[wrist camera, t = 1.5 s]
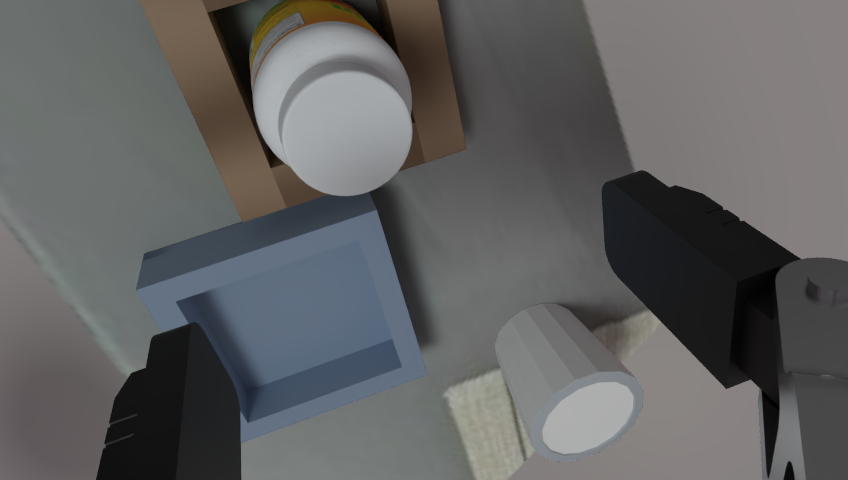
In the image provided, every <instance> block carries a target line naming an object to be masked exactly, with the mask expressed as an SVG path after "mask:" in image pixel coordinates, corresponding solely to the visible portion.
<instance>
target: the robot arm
mask: <svg viewBox="0 0 848 480" xmlns="http://www.w3.org/2000/svg"><path fill="white" fill-rule="evenodd" d="M602 206H603V224H604V241H605V251H606V255H607V258H608V261H609V263H610V266H611V268H612V269H613V271H614V273H615V274H616V275H617V276H618V278H619V279H620V280H621V281H622V282H623V283H624V284H625V285H626V286H627V287H628V288H629V289H630V290H631V291H632V292H633V293H634V294H635V295H636V296H637V297H638V298H639V299H640V300H641V301H642V302H643V303H644V304H645V305H646V307H647V308H648V309H649V310H650V311H651V312H652V313H653V314H654V315H655V316H656V317H657V318H658V319H659V320H660V321H661V322H662V323H663V324H664V325H665V326H666V327H667V328H668V329H669V330H670V331H671V332H672V333H673V334H674V335H675V336H676V337H677V338H678V340H679V341H680V342H682V344H683V345H684V346H685V347H686V348H687V349H688V350H689V351H690V352H691V353H692V354H693V355H694V356H695V357H696V358H697V359H698V360H699V361H700V362H701V363H702V364H703V365H704V366H705V367H706V368H707V369H708V370H709V372H710V373H711V374H712V375H713V376H714V377H715V378H716V379H717V380H718V381H719V382H720V383H721V384H722V385H723V386H724V387H725V388H726V389H727V388H730V387H733V386H735V385H738V384H740V383H743V382H745V381H748V380H752V381H753V382H754V383H755V384H756V385H757V386H758V387H759V388H760V390H759V398H758V407H759V426H760V444H761V462H762V480H848V262H847V261H843V260H838V259H832V258H806V259H800V258H799V257H797V256H795V255H794V254H793V253H791V252H790V251H788V250H786V249H785V248H783V247H782V246H780V245H779V244H777V243H776V242H775V241H773V240H771V239H770V238H768V237H767V236H766V235H764V234H762V233H761V232H760V231H758V230H756V229H755V228H753V227H752V226H751V225H749V224H748V223H746V222H745V221H740V220H739V218H738V217H737V216H736V215H734V214H733V213H731V212H729V211H728V210H723V207H722V206H720V205H719V204H717V203H716V202H714V201H713V200H711V199H710V198H708V197H707V196H705V195H704V194H702V193H699V192H696V191H692V190H689V189H686V188H683V187H679V186H676V185H675V186H673V187H668V186H666V185H665V184H663V183H662V182H661V181H659V180H658V179H656V178H655V177H653V176H652V175H651V174H649V173H648V172H646V171H638V172H635V173H632V174H629V175H626V176H623V177H620V178H617V179H614V180H611V181H608V182H606V183H605V184H604V185H603V188H602ZM109 423H110V427H109V428H108V430H107V434H106V439H105V446H106V448H104V449H103V452H102V456H101V460H100V465H99V469H98V473H97V478H96V480H241V420H240V404H239V399H238V395H237V392H236V389H235V386H234V384H233V381H232V379H231V377H230V376H229V374H228V372H227V370H226V369H225V367H224V365H223V363H222V362H221V360H220V358H219V356H218V355H217V353H216V351H215V350H214V348H213V346H212V344H211V343H210V341H209V339H208V337H207V336H206V334H205V332H204V331H203V329H202V327H201V326H200V325H199V324H198V323H196V322H193V323H190V324H187V325H184V326H181V327H178V328H175V329H172V330H169V331H166V332H163V333H160V334H157V335H154V336H153V337H152V339H151V342H150V348H149V353H148V359H147V364H146V368H144V369H141V370H138V371H136V372H133V373H131V374H130V376H129V377H128V379H127V381H126V382H125V384H124V385H123V387H122V388H121V390H120V391H119V393H118V394H117V396H116V397H115V400H114V404H113V409H112V413H111V418H110V421H109Z"/></svg>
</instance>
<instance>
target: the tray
mask: <svg viewBox="0 0 848 480" xmlns="http://www.w3.org/2000/svg"><path fill="white" fill-rule="evenodd" d="M136 291H137V293H138V295H139V296H140V298H141V299H142V301H143V302H144V304H145V306H146V307H147V309H148V310H149V312H150V313H151V315H152V317H153V318H154V320H155V321H156V323H157V324H158V326H159V328H160V329H161V331H162V332H166V331H169V330H172V329H175V328H178V327H181V326H184V325H187V324H190V323H193V322H196V323H198V324H199V325H200V326H201V327H202V329H203V331H204V332H205V334H206V336H207V337H208V339H209V341H210V343H211V344H212V346H213V348H214V350H215V351H216V353H217V355H218V356H219V358H220V360H221V362H222V363H223V365H224V367H225V369H226V370H227V372H228V374H229V376H230V377H231V379H232V381H233V384H234V386H235V389H236V392H237V395H238V399H239V404H240V420H241V443H242V442H245V441H248V440H251V439H253V438H256V437H259V436H261V435H264V434H267V433H270V432H272V431H275V430H278V429H280V428H283V427H286V426H289V425H291V424H294V423H297V422H299V421H302V420H305V419H308V418H310V417H313V416H316V415H319V414H321V413H324V412H327V411H329V410H332V409H335V408H338V407H340V406H343V405H346V404H348V403H351V402H354V401H357V400H359V399H362V398H365V397H368V396H370V395H373V394H376V393H378V392H381V391H384V390H387V389H389V388H392V387H395V386H397V385H400V384H403V383H406V382H408V381H411V380H414V379H416V378H419V377H422V376H425V375H427V371H426V368H425V365H424V362H423V358H422V355H421V352H420V349H419V345H418V342H417V339H416V336H415V332H414V329H413V326H412V323H411V319H410V316H409V313H408V310H407V306H406V303H405V300H404V297H403V293H402V290H401V287H400V284H399V280H398V277H397V274H396V271H395V267H394V264H393V261H392V258H391V254H390V251H389V248H388V245H387V241H386V238H385V235H384V232H383V228H382V225H381V222H380V219H379V215H378V212H377V209H376V207H375V204H374V202H373V200H372V198H371V195H370V193H369V192H367V193H364V194H359V195H354V196H336V195H331V194H328V195H325V196H322V197H319V198H316V199H313V200H310V201H307V202H304V203H301V204H298V205H294V206H291V207H288V208H285V209H282V210H279V211H276V212H273V213H270V214H267V215H264V216H261V217H258V218H255V219H252V220H249V221H246V222H241V223H238V224H235V225H232V226H229V227H225V228H222V229H219V230H216V231H213V232H210V233H207V234H204V235H201V236H198V237H195V238H192V239H189V240H186V241H183V242H180V243H177V244H174V245H170V246H167V247H164V248H161V249H158V250H155V251H152V252H149V253H146V254H144V257H143V261H142V266H141V270H140V274H139V279H138V283H137V287H136Z"/></svg>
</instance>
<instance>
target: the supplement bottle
mask: <svg viewBox="0 0 848 480" xmlns="http://www.w3.org/2000/svg"><path fill="white" fill-rule="evenodd" d="M249 62H250V73H251V87H252V94H253V107H254V112H255V117H256V121H257V124H258V127H259V130H260V132H261V134H262V136H263V138H264V140H265V142H266V143H267V145H268V146H269V147H270V149H271V150H272V151H273V153H274V154H275V155H276V156H277V157H278V158H279V159H280V160H282V161H283V162H284V163H285V164H287V165H288V166H289V167H291V168H292V170H293V171H294V172H295V173H296V175H297V176H298V177H299V178H300V179H301V180H302V181H304V182H305V183H306V184H307V185H309V186H311V187H312V188H314V189H316V190H318V191H320V192H323V193H327V194H331V195H336V196H354V195H359V194H364V193H367V192H369V191H372V190H374V189H376V188H378V187H380V186H382V185H383V184H385V183H386V182H387V181H389V180H390V179H391V178H392V177H393V176H394V175H395V174H396V173H397V172H398V170H399V169H400V168H401V166H402V165H403V163H404V162H405V160H406V158H407V155H408V153H409V150H410V146H411V142H412V120H411V111H412V94H411V87H410V82H409V79H408V76H407V73H406V71H405V69H404V67H403V65H402V63H401V61H400V60H399V58H398V57H397V55H396V54H395V52H394V51H393V50H392V48H391V47H390V46H389V45H388V44H387V43H386V42H385V41H384V40H383V38H382V37H381V36H380V35H379V34H378V33H377V32H376V31H375V30H374V28H373V27H372V26H371V25H370V24H369V23H368V22H367V21H366V20H365V19H364V18H363V17H362V16H361V15H360V14H359V13H358V12H357V11H356V10H355V9H354V8H353V7H352V6H350V5H349V4H348V3H346V2H345V1H343V0H281V1H279V2H277V3H276V4H275V5H273V6H272V7H271V8H270V9H269V10H267V11H266V13H265V14H264V15H263V16H262V17H261V19H260V20H259V22H258V24H257V25H256V28H255V30H254V33H253V36H252V39H251V44H250V54H249Z"/></svg>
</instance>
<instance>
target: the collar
mask: <svg viewBox="0 0 848 480" xmlns="http://www.w3.org/2000/svg"><path fill="white" fill-rule="evenodd" d="M139 1H140V3H141V5H142V7H143V9H144V12H145V14H146V16H147V18H148V20H149V22H150V24H151V27H152V29H153V31H154V33H155V35H156V37H157V39H158V42H159V44H160V46H161V48H162V50H163V52H164V55H165V57H166V59H167V61H168V63H169V65H170V67H171V70H172V72H173V74H174V76H175V78H176V80H177V83H178V85H179V87H180V89H181V91H182V93H183V95H184V98H185V100H186V102H187V104H188V106H189V108H190V110H191V113H192V115H193V117H194V119H195V121H196V123H197V126H198V128H199V130H200V132H201V134H202V136H203V138H204V141H205V143H206V145H207V147H208V149H209V151H210V153H211V156H212V158H213V160H214V162H215V164H216V166H217V169H218V171H219V173H220V175H221V177H222V179H223V181H224V184H225V186H226V188H227V190H228V192H229V194H230V197H231V199H232V201H233V203H234V205H235V207H236V209H237V212H238V214H239V216H240V218H241V220H242V222H246V221H249V220H252V219H255V218H258V217H261V216H264V215H267V214H270V213H273V212H276V211H279V210H282V209H285V208H288V207H291V206H294V205H298V204H301V203H304V202H307V201H310V200H313V199H316V198H319V197H322V196H325V195H328V194H327V193H323V192H320V191H318V190H316V189H314V188H312V187H311V186H309V185H307V184H306V183H305V182H304V181H302V180H301V179H300V178H299V177H298V176H297V175H296V173H295V172H294V171H293V170H292V168H291V167H289V166H288V165H287V164H285V163H284V162H283V161H282V160H280V159H279V158H278V157H277V156H276V155H275V154H274V153H273V151H272V150H271V149H270V147H269V146H267V144H266V142H265V140H264V138H263V136H262V134H261V132H260V130H259V127H258V124H257V121H256V117H255V114H254V111H253V109H252V106H251V104H250V101H249V99H248V96H247V94H246V91H245V89H244V86H243V84H242V81H241V79H240V76H239V74H238V71H237V69H236V66H235V64H234V61H233V59H232V56H231V54H230V51H229V49H228V46H227V44H226V42H225V39H224V37H223V34H222V32H221V29H220V27H219V24H218V22H217V19H216V17H215V14H214V12H213V11H214V10H218V9H221V8H225V7H228V6H232V5H235V4H239V3H242V2H246V1H249V0H139ZM376 2H377V6H378V10H379V14H380V18H381V22H382V26H383V30H384V34H385V38H386V42H387V44H388V45H389V46H390V47H391V48H392V50H393V51H394V52H395V54H396V55H397V57H398V58H399V60H400V61H401V63H402V65H403V67H404V69H405V71H406V73H407V76H408V79H409V82H410V87H411V94H412V111H411V120H412V142H411V146H410V150H409V153H408V155H407V158H406V160H405V162H404V163H403V165H402V166H401V168H400V169H399V170H398V171H401V170H404V169H407V168H411V167H414V166H417V165H420V164H423V163H426V162H429V161H432V160H435V159H438V158H441V157H444V156H447V155H450V154H453V153H456V152H459V151H462V150H465V149H466V144H465V139H464V134H463V129H462V124H461V118H460V113H459V108H458V103H457V98H456V93H455V87H454V82H453V77H452V72H451V67H450V62H449V56H448V51H447V46H446V41H445V36H444V31H443V25H442V20H441V15H440V10H439V5H438V0H376Z"/></svg>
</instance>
